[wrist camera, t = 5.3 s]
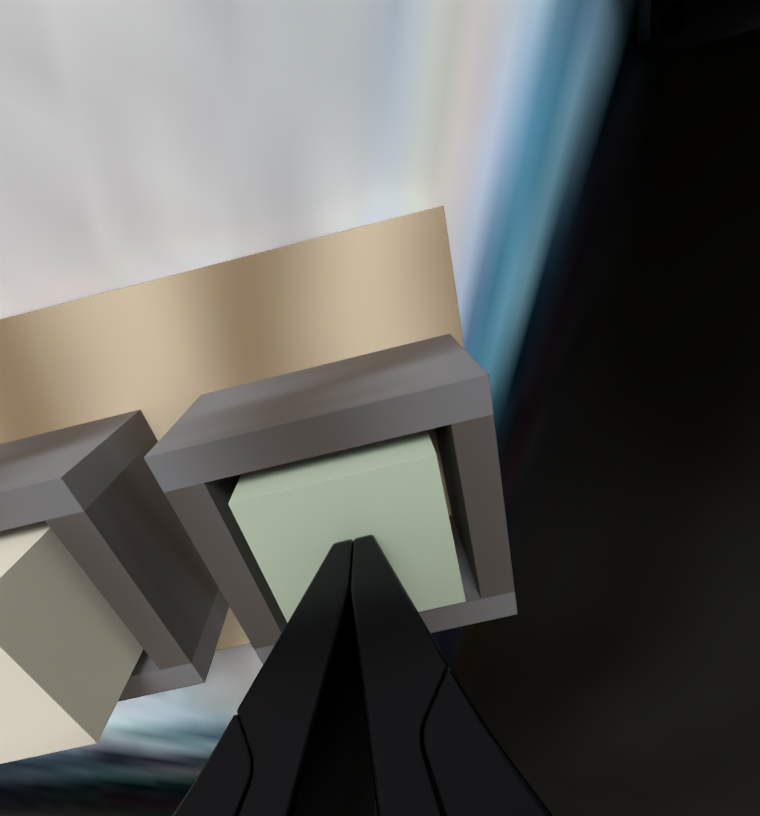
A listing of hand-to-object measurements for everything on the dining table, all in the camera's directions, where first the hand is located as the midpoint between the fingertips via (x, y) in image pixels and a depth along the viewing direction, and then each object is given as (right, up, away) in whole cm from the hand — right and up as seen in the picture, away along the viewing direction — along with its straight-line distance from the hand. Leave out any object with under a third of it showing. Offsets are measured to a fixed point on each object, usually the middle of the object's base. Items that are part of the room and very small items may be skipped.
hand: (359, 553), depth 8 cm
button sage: (0, +1, +3) cm, 3 cm away
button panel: (-8, 0, +4) cm, 9 cm away
